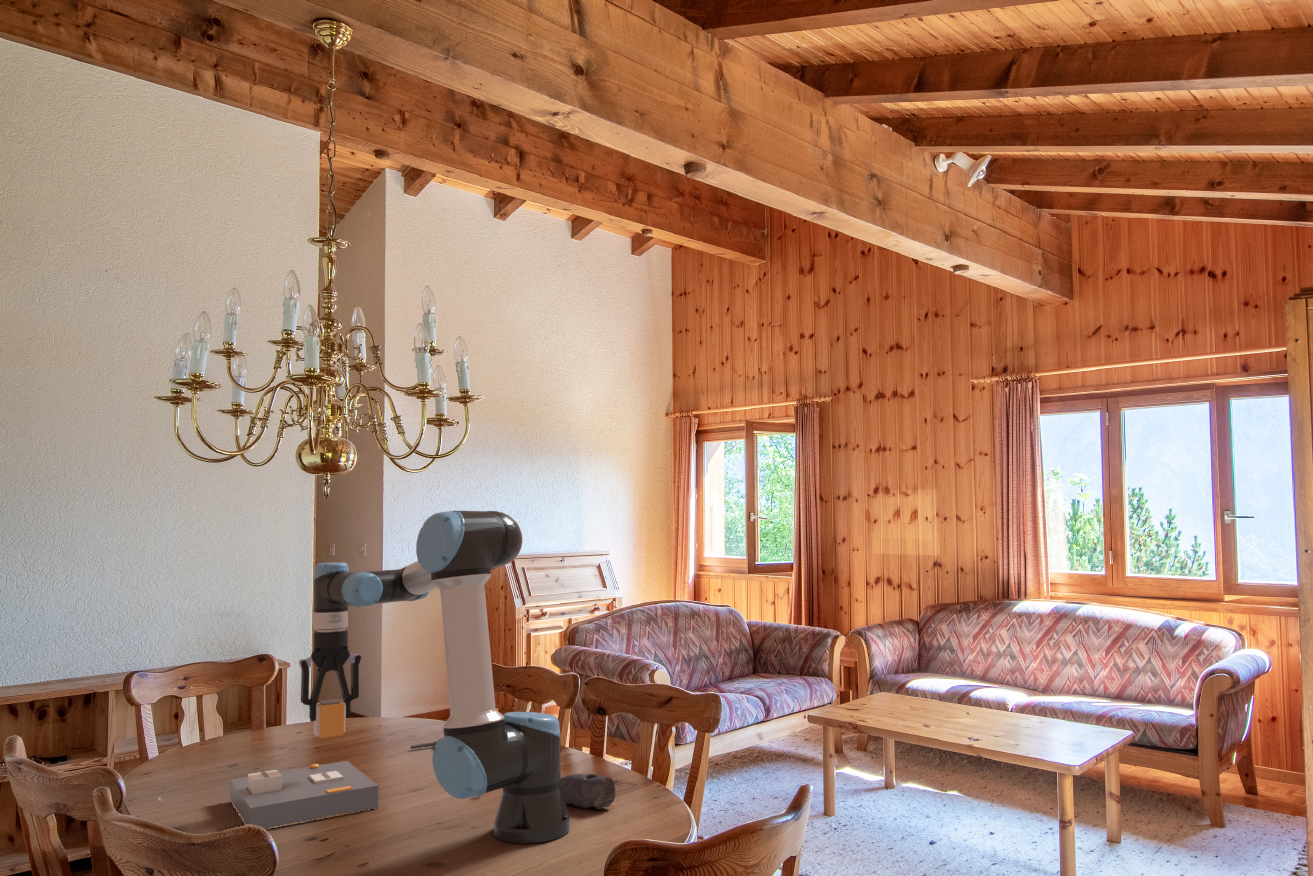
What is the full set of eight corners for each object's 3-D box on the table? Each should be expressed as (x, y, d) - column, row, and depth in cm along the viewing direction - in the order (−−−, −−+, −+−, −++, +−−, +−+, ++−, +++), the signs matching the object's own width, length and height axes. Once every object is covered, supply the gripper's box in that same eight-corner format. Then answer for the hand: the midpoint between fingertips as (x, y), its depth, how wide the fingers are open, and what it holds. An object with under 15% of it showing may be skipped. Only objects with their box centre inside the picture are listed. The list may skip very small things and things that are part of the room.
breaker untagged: (281, 799, 198) (282, 774, 198) (252, 804, 194) (252, 779, 195) (276, 792, 203) (276, 768, 203) (247, 797, 199) (247, 773, 200)
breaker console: (378, 808, 199) (378, 782, 199) (249, 833, 185) (250, 805, 185) (346, 782, 220) (347, 758, 221) (230, 802, 206) (230, 776, 207)
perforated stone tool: (549, 804, 199) (548, 772, 200) (564, 798, 204) (563, 766, 204) (603, 815, 191) (602, 781, 192) (618, 808, 195) (617, 775, 196)
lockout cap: (343, 735, 206) (344, 701, 207) (320, 738, 204) (321, 704, 204) (338, 731, 211) (338, 698, 211) (315, 734, 208) (316, 701, 209)
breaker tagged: (342, 799, 204) (343, 775, 205) (315, 804, 201) (315, 780, 202) (336, 793, 209) (336, 769, 210) (309, 797, 206) (309, 774, 207)
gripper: (292, 634, 201) (291, 742, 199) (374, 628, 211) (374, 730, 209) (286, 631, 208) (284, 735, 205) (366, 625, 217) (365, 724, 215)
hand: (329, 732), depth 207 cm, fingers closed on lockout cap, 5 cm apart
